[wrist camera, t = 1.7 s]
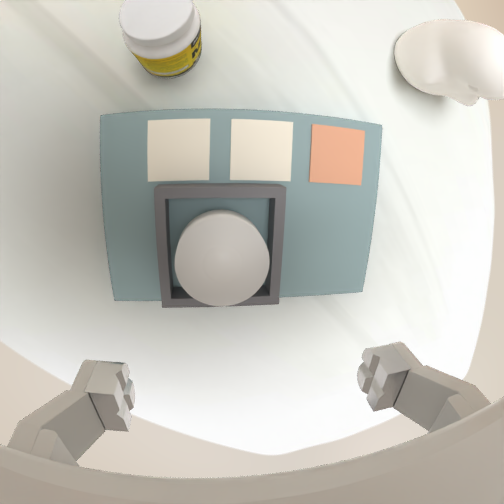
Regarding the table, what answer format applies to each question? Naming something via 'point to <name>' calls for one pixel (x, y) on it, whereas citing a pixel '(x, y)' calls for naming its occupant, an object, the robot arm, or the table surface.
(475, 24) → the figurine
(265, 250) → the dome
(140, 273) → the board
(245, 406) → the table surface
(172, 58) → the supplement bottle
